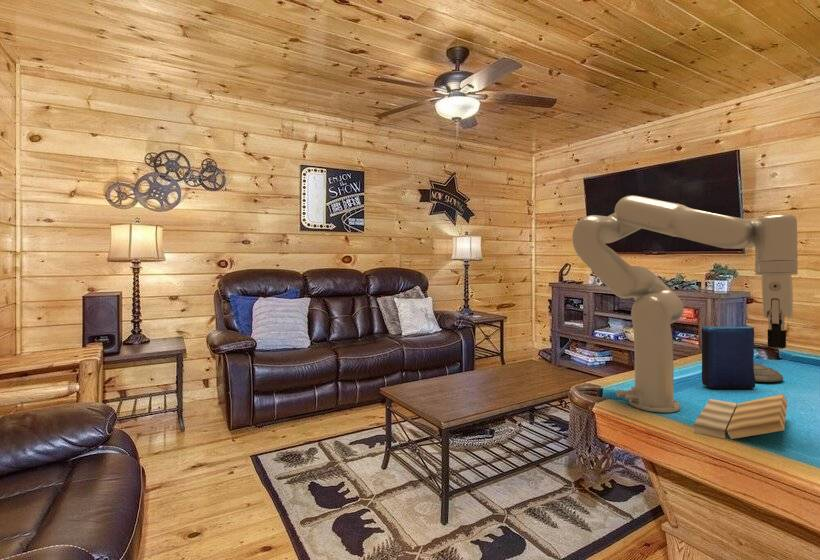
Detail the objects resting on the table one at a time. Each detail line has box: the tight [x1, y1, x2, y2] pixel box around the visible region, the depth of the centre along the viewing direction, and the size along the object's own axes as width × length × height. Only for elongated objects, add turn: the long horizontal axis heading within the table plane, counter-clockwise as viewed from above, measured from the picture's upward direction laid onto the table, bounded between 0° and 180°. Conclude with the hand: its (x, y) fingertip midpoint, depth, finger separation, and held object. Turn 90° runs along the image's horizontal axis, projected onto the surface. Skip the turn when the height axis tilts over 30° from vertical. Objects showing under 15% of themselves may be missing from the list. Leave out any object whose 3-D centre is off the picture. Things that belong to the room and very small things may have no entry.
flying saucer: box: [754, 362, 785, 383], centre depth 146 cm, size 15×15×6 cm
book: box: [701, 324, 756, 389], centre depth 135 cm, size 14×5×20 cm, turn 84°
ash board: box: [693, 398, 738, 439], centre depth 109 cm, size 24×6×2 cm, turn 137°
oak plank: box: [727, 393, 788, 440], centre depth 103 cm, size 24×10×2 cm, turn 137°
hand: (776, 346), depth 100 cm, fingers closed
